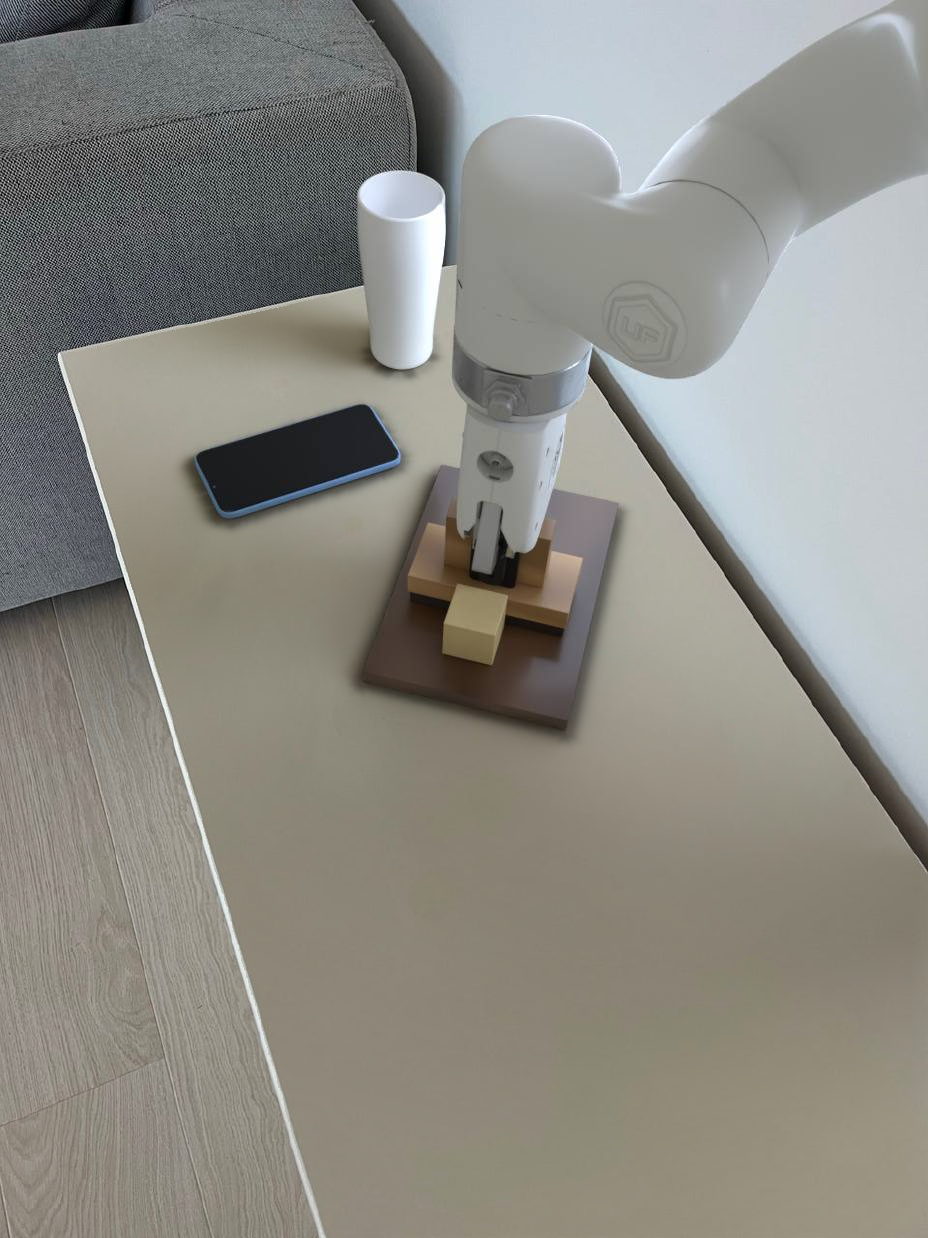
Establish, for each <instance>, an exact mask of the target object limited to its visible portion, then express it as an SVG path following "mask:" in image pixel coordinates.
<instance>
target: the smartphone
mask: <svg viewBox="0 0 928 1238" xmlns="http://www.w3.org/2000/svg"><path fill="white" fill-rule="evenodd" d="M401 459H402V456H401V452H400V449H399V447H398V446H397V445H396V443H395V441H394V440H393V437H392V436H391V434H390V433H389V432H388V430H387V429H386V427H385V425H384V424H383V422H382V421H381V419H380V418H379V416H378V415H377V412H376V411H375V410H374V409H373V407H372V406H370V405H368V404H367V403H366V404H365V403H358V404H353V405H350V406H347V407H343V408H341V409H337V410H333V411H331V412H327V413H324V414H319V415H316V416H313V417H310V418H306V419H304V420H300V421H297V422H293V423H290V424H287V425H283V426H279V427H276V428H274V429H270V430H266V431H263V432H260V433H257V434H253V435H249V436H247V437H244V438H240V439H236V440H233V441H229V442H227V443H223V444H219V445H216V446H213V447H209V448H206V449H203V450H201V451H199V452H198V453H197V454H196V455H195V457H194V465H195V468H196V471H197V472H198V474H199V477H200V478H201V481H202V483H203V485H204V487H205V489H206V492H208V495H209V498H210V499H211V502H212V504H213V506H214V508H215V510H216V512H217V514H218V515H220V517H222V518H224V519H235V518H239V517H243V516H245V515H248V514H251V513H255V512H258V511H261V510H264V509H267V508H270V507H273V506H277V505H280V504H283V503H286V502H290V501H292V500H296V499H298V498H302V497H305V496H308V495H311V494H315V493H317V492H320V491H324V490H326V489H329V488H333V487H336V486H339V485H342V484H345V483H348V482H352V481H355V480H358V479H362V478H364V477H368V476H370V475H373V474H377V473H380V472H383V471H386V470H389V469H391V468H394V467H396V466H398V465H399V464H400V463H401Z"/></svg>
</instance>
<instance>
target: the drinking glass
mask: <svg viewBox="0 0 928 1238" xmlns="http://www.w3.org/2000/svg"><path fill="white" fill-rule="evenodd" d="M356 230H357V231H356V232H357V245H358V253H359V262H360V266H361V269H360V270H361V274H362V275H361V276H362V282H363V290H364V296H365V303H366V311H367V318H368V320H367V321H368V327H369V344H370V350H371V353H372V356H373V357H374V358H375V360H377V362H378V363H380V364H381V365H383V366H384V367H387V368H390V369H394V370H410V369H414V368H417V367H419V366H420V367H421V365H423V364H425V363H426V362H427V361H428V359H430V358H431V355H432V353H433V349H434V332H435V331H434V330H435V322H436V315H437V306H438V298H439V292H440V283H441V275H442V269H443V261H444V253H445V244H446V243H445V242H446V194H445V190H444V188H443V187H442V185H440V183H439V182H438V181H436V180H435V179H434V178H432V177H430V176H428V175H426V174H424V173H421V172H416V171H411V170H402V169H401V170H399V169H398V170H388V171H382V172H379V173H376V174H374V175H372V176H370V177H368V178H366V179H365V181H363V182H362V183H361V185H360V186H359V188H358V189H357V194H356Z"/></svg>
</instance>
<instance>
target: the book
mask: <svg viewBox="0 0 928 1238" xmlns="http://www.w3.org/2000/svg"><path fill="white" fill-rule="evenodd" d="M459 473H460V467H455V466H451V465H446V464H441V465H440V466H439V470H438V472H437V475H436V478H435V480H434V482H433V485H432V488H431V490H430V493H429V496H428V500H427V501H426V503H425V507H424V509H423V512H422V515H421V517H420V520H419V523H418V525H417V528H416V531H415V533H414V535H413V538H412V542H411V544H410V546H409V549H408V552H407V555H406V557H405V560H404V562H403V565H402V568H401V571H400V573H399V575H398V578H397V581H396V583H395V587H394V590H393V592H392V595H391V597H390V600H389V603H388V605H387V608H386V610H385V613H384V615H383V619H382V621H381V624H380V627H379V630H378V632H377V635H376V637H375V640H374V642H373V645H372V648H371V651H370V653H369V656H368V658H367V661H366V664H365V666H364V669H363V682H365V683H370V684H372V685H373V684H374V685H377V686H378V685H379V686H382V687H386V688H390V689H395V690H399V691H402V692H406V693H411V694H415V695H418V696H424V697H427V698H431V699H435V700H438V701H439V700H440V701H444V702H448V703H453V704H456V705H460V706H465V707H469V708H472V709H477V710H481V711H485V712H490V713H493V714H498V715H502V716H506V717H510V718H515V719H518V720H522V721H527V722H531V723H535V724H539V725H543V726H547V727H551V728H555V729H560V730H564V731H567V730H568V725H569V721H570V716H571V711H572V707H573V703H574V699H575V694H576V691H577V685H578V681H579V677H580V674H581V670H582V669H581V668H582V664H583V659H584V655H585V652H586V647H587V642H588V639H589V633H590V630H591V626H592V620H593V616H594V612H595V608H596V604H597V600H598V595H599V591H600V587H601V581H602V578H603V574H604V569H605V564H606V560H607V556H608V552H609V548H610V543H611V539H612V535H613V530H614V526H615V522H616V518H617V513H618V508H619V505H620V503H619V502H617V501H614V500H613V501H611V500H608V499H602V498H599V497H593V496H591V495H590V496H589V495H585V494H581V493H575V492H571V491H567V490H561V489H557V488H553V490H552V493H551V497H550V500H549V503H548V507H547V510H546V513H545V517H544V518H548V519H552V520H556V521H557V523H556V529H555V535H554V540H553V546H552V551H554V552H558V553H563V554H567V555H572V556H576V557H580V558H583V561H582V566H581V571H580V575H579V579H578V583H577V587H576V591H575V595H574V599H573V603H572V606H571V610H570V614H569V618H568V622H567V626H566V629H565V630H564V634H563V636H562V637H559V636H555V635H551V634H547V633H543V632H538V631H534V630H530V629H526V628H522V627H517V626H513V625H509V624H505V623H504V628H503V631H502V634H501V637H500V641H499V644H498V647H497V651H496V654H495V657H494V661H493V664H492V665H488V664H484V663H480V662H476V661H472V660H468V659H463V658H459V657H455V656H451V655H447V654H443V653H442V648H443V628H444V621H445V618H446V615H447V612H448V610H446V609H442V608H438V607H434V606H430V605H426V604H421V603H417V602H413V601H410V592H409V591H408V574H409V571H410V568H411V566H412V563H413V560H414V558H415V555H416V552H417V550H418V547H419V545H420V542H421V539H422V537H423V534H424V531H425V529H426V526H427V524H428V523H432V524H437V525H441V526H445V527H446V515H447V512H448V509H449V507H450V504H451V501H452V499H453V497H455V498H458V485H459Z"/></svg>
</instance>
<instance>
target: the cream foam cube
mask: <svg viewBox="0 0 928 1238" xmlns="http://www.w3.org/2000/svg"><path fill="white" fill-rule="evenodd" d="M507 598H508V595H505V594H500V593H496V592H492V591H488V590H484V589H479V588H475V587H471V586H467V585H462V584H457V586H456V589H455V592H454V595H453V598H452V601H451V604H450V606H449V609H448V612H447V615H446V618H445V621H444V628H443V648H442V653H443V654H447V655H451V656H455V657H459V658H463V659H468V660H472V661H476V662H480V663H484V664H488V665H492V664H493V661H494V657H495V654H496V651H497V647H498V644H499V641H500V637H501V634H502V631H503V628H504V622H505V614H506V606H507Z"/></svg>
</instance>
